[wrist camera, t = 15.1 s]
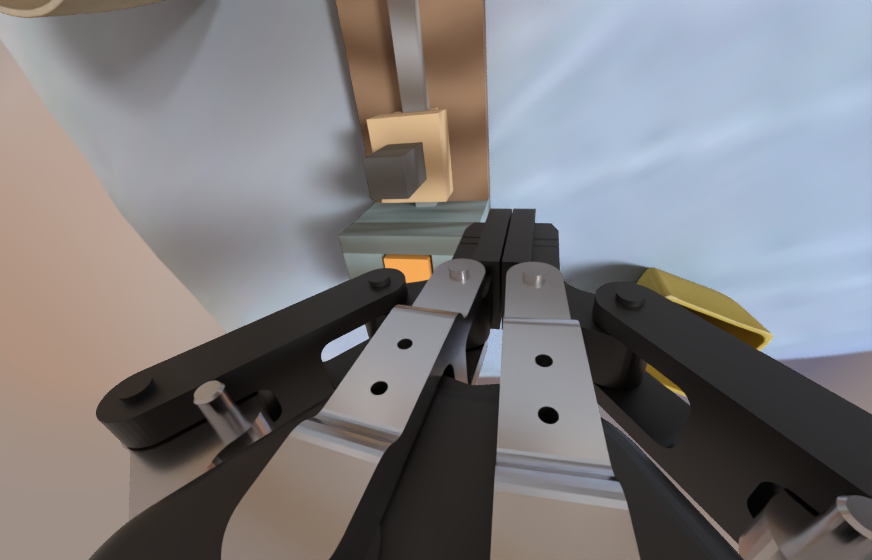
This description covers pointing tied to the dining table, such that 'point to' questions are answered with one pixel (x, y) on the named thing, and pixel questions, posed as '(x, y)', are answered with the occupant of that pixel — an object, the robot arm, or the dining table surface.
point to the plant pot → (65, 7)
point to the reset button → (411, 266)
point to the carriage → (409, 157)
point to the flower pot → (704, 312)
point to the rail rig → (418, 91)
